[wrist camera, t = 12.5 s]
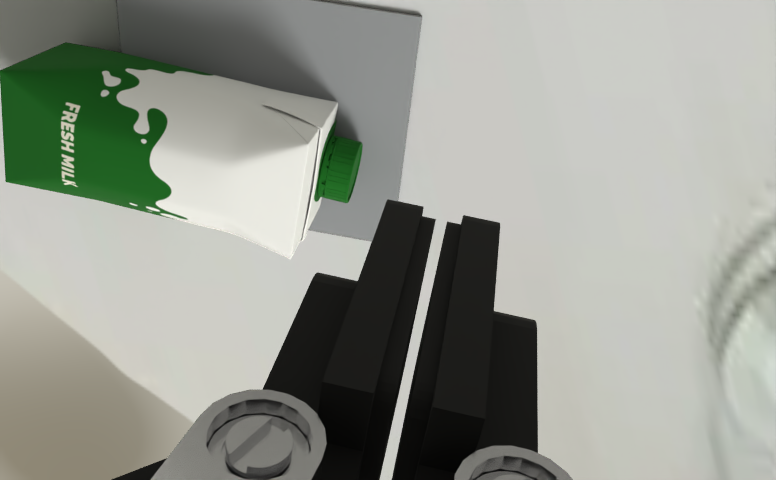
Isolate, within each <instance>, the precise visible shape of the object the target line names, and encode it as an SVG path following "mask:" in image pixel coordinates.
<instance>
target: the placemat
mask: <svg viewBox="0 0 776 480" xmlns="http://www.w3.org/2000/svg"><path fill="white" fill-rule="evenodd" d="M116 1H117V13H118V24H119V35H120V46H121V53H125V54H129V55H134V56H138V57H142V58H146V59H151V60H155V61H159V62H163V63H167V64H171V65H175V66H180V67H184V68H188V69H192V70H196V71H200V72H204V73H208V74H213V75H217V76H221V77H225V78H229V79H233V80H237V81H241V82H246V83H250V84H254V85H258V86H262V87H266V88H270V89H274V90H279V91H284V92H289V93H294V94H298V95H303V96H308V97H314V98H319V99H324V100H329V101H334V102H338V108H337V113H336V117H335V120H337V121H336V127H335V132H334V135H335V136H338V137H344V138H347V139H351V140H355V141H359V142H362V144H363V148H362V156H361V161H360V166H359V170H358V175H357V179H356V183H355V186H354V189H353V193H352V196H351V198H350V201H349V202H348V203H343V202H339V201H334V200H330V199H326V198H323V197H322V199H321V204H320V207H319V209H318V211H317V213H316V215H315V217H314V219H313V221H312V223H311V225H310V227H309V229H308V230H310V231H316V232H321V233H327V234H332V235H338V236H344V237H349V238H355V239H360V240H366V241H371V242H372V240H373V238H374V235H375V232H376V229H377V226H378V224H379V221H380V218H381V215H382V212H383V210H384V207H385V204H386V201H387V199H389V200H394V201H398V198H399V190H400V182H401V175H402V167H403V159H404V152H405V144H406V136H407V128H408V121H409V113H410V105H411V98H412V90H413V82H414V74H415V67H416V59H417V51H418V44H419V36H420V28H421V20H422V16H418V15H412V14H405V13H399V12H392V11H386V10H379V9H373V8H366V7H360V6H353V5H347V4H340V3H333V2H327V1H320V0H116Z"/></svg>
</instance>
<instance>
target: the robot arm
mask: <svg viewBox="0 0 776 480" xmlns="http://www.w3.org/2000/svg"><path fill="white" fill-rule="evenodd" d="M422 213H423V207H422V206H417V205H413V204H408V203H403V202H398V201H394V200H389V199H387V201H386V204H385V207H384V210H383V212H382V215H381V218H380V221H379V224H378V226H377V229H376V232H375V235H374V238H373V240H372V243H371V246H370V249H369V252H368V254H367V257H366V260H365V263H364V266H363V268H362V271H361V274H360V277H359V280H358V281H354V280H349V279H345V278H340V277H336V276H331V275H326V274H322V273H316V274H315V276H314V277H313V279H312V281H311V283H310V286H309V288H308V290H307V292H306V294H305V297H304V299H303V301H302V303H301V306H300V308H299V310H298V312H297V314H296V317H295V319H294V321H293V323H292V326H291V328H290V330H289V332H288V334H287V337H286V339H285V341H284V343H283V345H282V348H281V350H280V352H279V354H278V357H277V359H276V361H275V363H274V365H273V368H272V370H271V372H270V374H269V377H268V379H267V381H266V383H265V385H264V388H263V390H246V391H242V392H238V393H233V394H230V395H228V396H226V397H224V398H222V399H220V400H218V401H216V402H214V403H213V404H212V405H211V406H210V407H208V408H207V409H206V410H205V411H204V412H203V413H202V414H201V415H200V416H199V418H198V419H197V420H196V421H195V423H194V424H193V425H192V427H191V428H190V429H189V430H188V432H187V433H186V434H185V436H184V437H183V439H182V440H181V441H180V442H179V444H178V445H177V446H176V447H175V449H174V450H173V451H172V453H171V454H170V455H169V457H168V458H166V459H164V460H161V461H159V462H156V463H153V464H151V465H148V466H146V467H143V468H141V469H138V470H135V471H133V472H130V473H128V474H125V475H123V476H120V477H117V478H115V479H112V480H379V479H380V475H381V470H382V466H383V461H384V457H385V452H386V448H387V443H388V439H389V434H390V430H391V425H392V421H393V416H394V412H395V408H396V403H397V399H398V394H399V390H400V385H401V381H402V376H403V372H404V367H405V362H406V358H407V353H408V348H409V343H410V339H411V334H412V329H413V324H414V320H415V315H416V310H417V305H418V301H419V296H420V291H421V286H422V282H423V277H424V272H425V267H426V263H427V258H428V253H429V248H430V244H431V239H432V234H433V229H434V225H435V220H436V219H432V218H427V217H423V216H422ZM499 233H500V223H498V222H493V221H488V220H484V219H479V218H474V217H469V216H465V215H464V216H463V219H462V223H461V225H460V224H455V223H451V222H447V225H446V229H445V234H444V238H443V243H442V247H441V252H440V257H439V261H438V266H437V270H436V275H435V279H434V284H433V288H432V293H431V297H430V302H429V306H428V311H427V315H426V320H425V324H424V329H423V333H422V338H421V342H420V347H419V352H418V356H417V361H416V365H415V370H414V375H413V379H412V384H411V389H410V394H409V399H408V404H407V409H406V413H405V418H404V423H403V428H402V433H401V438H400V443H399V448H398V452H397V457H396V462H395V467H394V472H393V477H392V480H573V479H572V478H571V477H570V476H569V474H568V473H567V472H566V471H565V470H563V469H562V468H561V467H559V466H558V465H557V464H556V463H554V462H553V461H552V460H551V459H549V458H547V457H545V456H542V455H540V454H538V418H537V325H536V321H535V320H532V319H527V318H522V317H518V316H513V315H509V314H504V313H500V312H495V311H494V299H495V285H496V272H497V259H498V246H499Z"/></svg>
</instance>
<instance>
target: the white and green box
mask: <svg viewBox="0 0 776 480" xmlns="http://www.w3.org/2000/svg"><path fill="white" fill-rule="evenodd" d="M0 83H1V102H2V121H3V139H4V158H5V177H6V182H9V183H14V184H19V185H24V186H29V187H34V188H39V189H44V190H49V191H54V192H59V193H64V194H69V195H74V196H79V197H85V198H90V199H95V200H99V201H103V202H107V203H111V204H115V205H119V206H123V207H128V208H132V209H136V210H140V211H144V212H148V213H152V214H156V215H160V216H164V217H168V218H172V219H176V220H180V221H184V222H188V223H192V224H196V225H200V226H204V227H208V228H212V229H216V230H220V231H224V232H228V233H231V234H234V235H237V236H239V237H242V238H244V239H246V240H248V241H251V242H253V243H255V244H257V245H260V246H262V247H264V248H266V249H269V250H271V251H273V252H275V253H277V254H280V255H282V256H284V257H286V258H288V259H291V258H292V256H293V254H294V252H295V250H296V248H297V246H298V244H299V243H300V242H302V241H303V240H304V239H305V237H306V235H307V232H308V229H309V227H310V225H311V223H312V221H313V219H314V217H315V215H316V213H317V211H318V209H319V207H320V204H321V199H322V197H323V198H326V199H330V200H334V201H339V202H343V203H348V202H349V201H350V198H351V196H352V193H353V189H354V186H355V183H356V179H357V175H358V170H359V166H360V161H361V156H362V148H363V144H362V142H359V141H355V140H351V139H347V138H344V137H338V136H335V135H334V132H335V127H336V121H337V120H335V117H336V113H337V108H338V102H334V101H329V100H324V99H319V98H314V97H308V96H303V95H298V94H294V93H289V92H284V91H279V90H274V89H270V88H266V87H262V86H258V85H254V84H250V83H246V82H241V81H237V80H233V79H229V78H225V77H221V76H217V75H213V74H208V73H204V72H200V71H196V70H192V69H188V68H184V67H180V66H175V65H171V64H167V63H163V62H159V61H155V60H151V59H146V58H142V57H138V56H134V55H129V54H125V53H120V52H115V51H110V50H104V49H99V48H93V47H88V46H82V45H77V44H71V43H63V44H61V45H59V46H56V47H54V48H52V49H49V50H47V51H45V52H42V53H40V54H38V55H35V56H33V57H31V58H28V59H26V60H24V61H21V62H19V63H17V64H14V65H12V66H10V67H7V68H5V69H3V70H0Z"/></svg>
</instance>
